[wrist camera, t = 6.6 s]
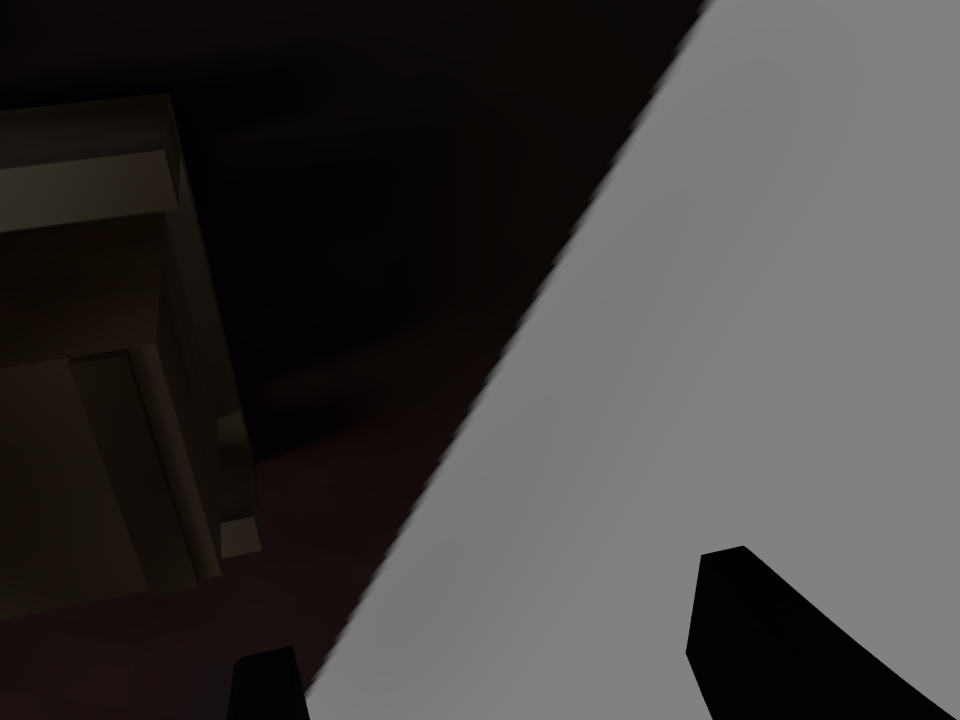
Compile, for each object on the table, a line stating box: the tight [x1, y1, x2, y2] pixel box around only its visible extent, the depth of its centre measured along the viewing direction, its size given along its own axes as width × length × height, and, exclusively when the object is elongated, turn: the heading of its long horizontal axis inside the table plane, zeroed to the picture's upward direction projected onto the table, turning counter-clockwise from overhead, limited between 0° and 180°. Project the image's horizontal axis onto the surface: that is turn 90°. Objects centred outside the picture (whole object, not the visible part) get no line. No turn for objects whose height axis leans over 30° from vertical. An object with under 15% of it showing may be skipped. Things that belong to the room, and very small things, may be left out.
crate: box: [0, 213, 222, 621], centre depth 16 cm, size 6×5×5 cm
